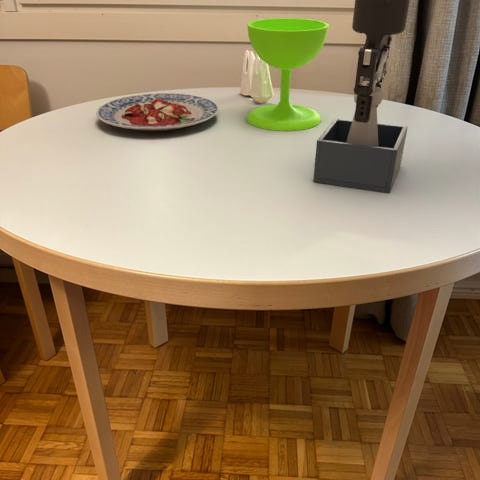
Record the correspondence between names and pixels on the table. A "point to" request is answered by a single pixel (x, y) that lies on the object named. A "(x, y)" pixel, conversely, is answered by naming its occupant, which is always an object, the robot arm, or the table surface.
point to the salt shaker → (366, 124)
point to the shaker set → (256, 78)
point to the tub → (359, 157)
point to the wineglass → (286, 67)
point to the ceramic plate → (157, 111)
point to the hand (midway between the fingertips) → (366, 114)
